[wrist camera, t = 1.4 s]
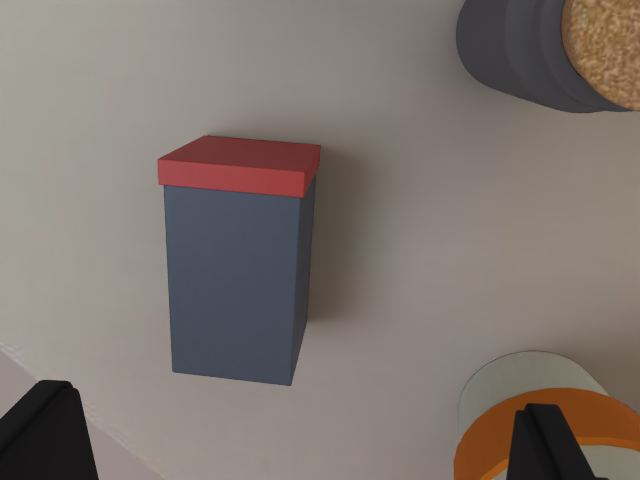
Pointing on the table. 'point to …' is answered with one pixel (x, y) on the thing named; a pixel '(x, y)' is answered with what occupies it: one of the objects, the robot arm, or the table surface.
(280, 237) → the red-lidded grey box
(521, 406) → the reusable coffee cup
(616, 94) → the bottle
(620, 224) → the table surface
